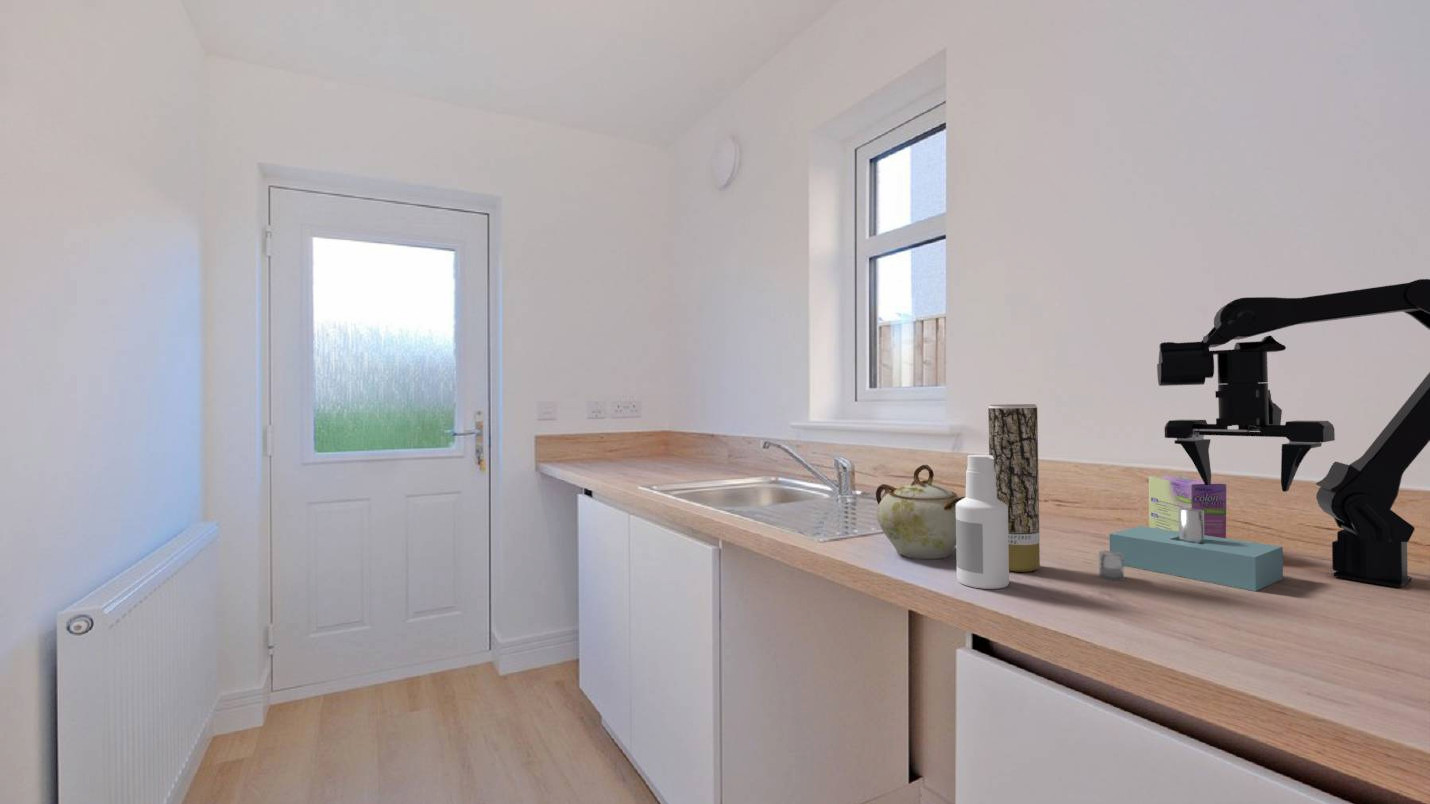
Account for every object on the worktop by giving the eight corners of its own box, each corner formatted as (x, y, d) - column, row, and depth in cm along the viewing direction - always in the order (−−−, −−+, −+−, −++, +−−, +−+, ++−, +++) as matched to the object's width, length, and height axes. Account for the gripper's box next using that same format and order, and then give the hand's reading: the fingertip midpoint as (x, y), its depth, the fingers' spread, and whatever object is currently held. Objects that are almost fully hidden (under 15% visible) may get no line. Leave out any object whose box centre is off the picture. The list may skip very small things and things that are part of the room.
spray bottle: (965, 573, 93) (963, 452, 93) (1014, 581, 89) (1012, 454, 89) (950, 584, 88) (947, 456, 88) (1001, 593, 84) (999, 458, 84)
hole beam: (1282, 578, 88) (1282, 546, 88) (1255, 591, 83) (1255, 557, 83) (1140, 553, 103) (1140, 525, 103) (1109, 562, 98) (1109, 533, 98)
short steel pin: (1127, 578, 90) (1127, 553, 90) (1117, 581, 88) (1117, 556, 88) (1105, 573, 92) (1105, 549, 92) (1095, 576, 91) (1094, 552, 91)
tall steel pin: (1208, 570, 92) (1207, 510, 92) (1199, 574, 91) (1198, 512, 91) (1184, 566, 95) (1183, 507, 95) (1175, 569, 93) (1174, 509, 93)
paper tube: (1046, 574, 92) (1043, 404, 92) (996, 572, 94) (994, 405, 93) (1032, 562, 99) (1029, 404, 99) (986, 560, 100) (983, 404, 100)
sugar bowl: (1003, 557, 102) (1001, 465, 102) (948, 573, 94) (946, 473, 93) (903, 537, 118) (902, 457, 118) (849, 549, 110) (847, 463, 110)
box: (1228, 556, 100) (1227, 483, 100) (1191, 557, 100) (1190, 483, 100) (1181, 541, 111) (1180, 475, 110) (1148, 542, 111) (1147, 475, 111)
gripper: (1344, 381, 90) (1347, 489, 90) (1191, 385, 106) (1193, 477, 106) (1320, 381, 84) (1323, 497, 84) (1161, 386, 100) (1164, 484, 100)
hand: (1245, 488), depth 94 cm, fingers open, 9 cm apart
